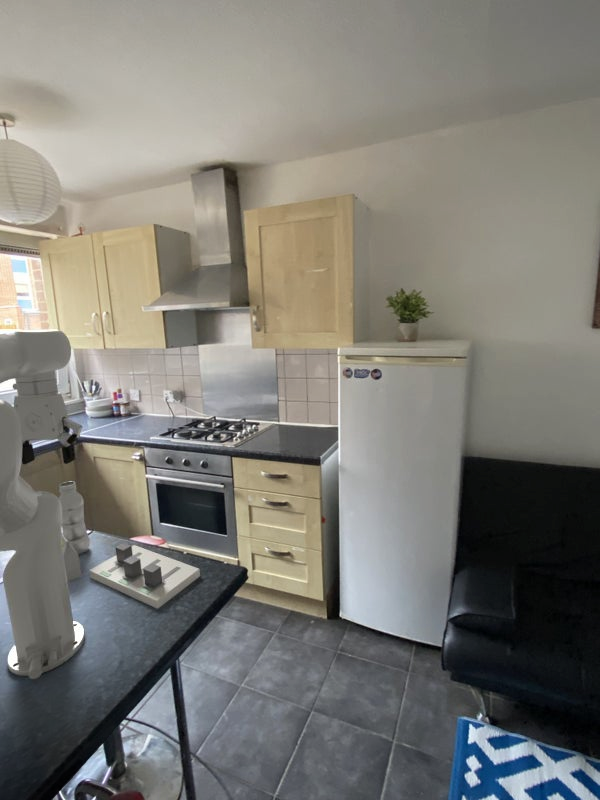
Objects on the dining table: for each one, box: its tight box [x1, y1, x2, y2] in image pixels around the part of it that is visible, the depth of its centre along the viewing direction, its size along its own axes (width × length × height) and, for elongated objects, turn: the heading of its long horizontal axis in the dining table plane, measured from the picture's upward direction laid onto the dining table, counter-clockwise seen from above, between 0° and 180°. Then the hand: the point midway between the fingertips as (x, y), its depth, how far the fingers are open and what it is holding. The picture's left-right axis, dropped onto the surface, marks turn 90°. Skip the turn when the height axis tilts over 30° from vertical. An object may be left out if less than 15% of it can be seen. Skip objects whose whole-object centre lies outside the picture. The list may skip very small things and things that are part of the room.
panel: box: [89, 544, 201, 610], centre depth 100 cm, size 24×13×2 cm, turn 60°
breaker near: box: [142, 564, 165, 590], centre depth 93 cm, size 4×4×4 cm
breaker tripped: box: [114, 542, 133, 567], centre depth 102 cm, size 4×4×4 cm
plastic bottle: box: [58, 480, 91, 556], centre depth 110 cm, size 6×7×20 cm
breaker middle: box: [122, 556, 144, 581], centre depth 96 cm, size 4×4×4 cm
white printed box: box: [62, 533, 82, 583], centre depth 101 cm, size 4×7×10 cm, turn 42°
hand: (49, 462), depth 93 cm, fingers open, 9 cm apart
